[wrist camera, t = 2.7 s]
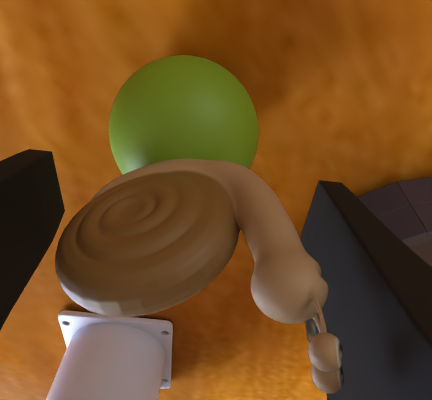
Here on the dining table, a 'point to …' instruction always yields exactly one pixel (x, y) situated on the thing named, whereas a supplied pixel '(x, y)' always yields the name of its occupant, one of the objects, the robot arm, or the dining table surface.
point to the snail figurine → (190, 209)
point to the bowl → (401, 218)
